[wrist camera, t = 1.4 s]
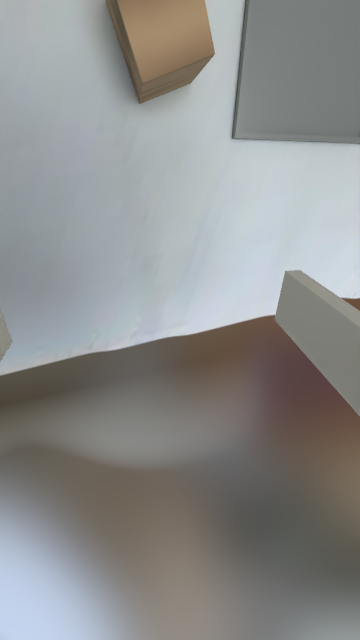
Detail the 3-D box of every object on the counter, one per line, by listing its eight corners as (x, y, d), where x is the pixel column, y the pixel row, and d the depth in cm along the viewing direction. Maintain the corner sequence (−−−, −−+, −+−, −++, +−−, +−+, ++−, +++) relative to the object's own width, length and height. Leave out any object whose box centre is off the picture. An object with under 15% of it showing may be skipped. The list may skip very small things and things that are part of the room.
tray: (231, 138, 33) (235, 137, 32) (255, -96, 24) (260, -106, 23) (360, 143, 35) (367, 143, 34) (423, -67, 27) (434, -76, 26)
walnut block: (190, 82, 30) (214, 53, 21) (139, 103, 30) (142, 83, 22) (165, -24, 26) (183, -114, 17) (105, 1, 26) (93, -74, 17)
